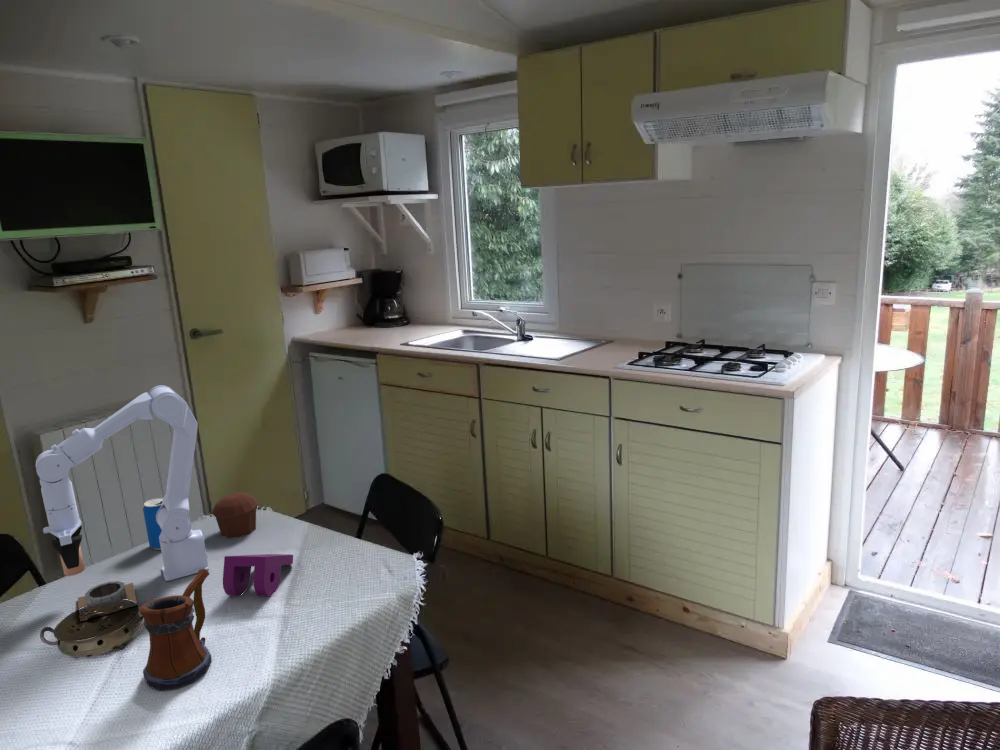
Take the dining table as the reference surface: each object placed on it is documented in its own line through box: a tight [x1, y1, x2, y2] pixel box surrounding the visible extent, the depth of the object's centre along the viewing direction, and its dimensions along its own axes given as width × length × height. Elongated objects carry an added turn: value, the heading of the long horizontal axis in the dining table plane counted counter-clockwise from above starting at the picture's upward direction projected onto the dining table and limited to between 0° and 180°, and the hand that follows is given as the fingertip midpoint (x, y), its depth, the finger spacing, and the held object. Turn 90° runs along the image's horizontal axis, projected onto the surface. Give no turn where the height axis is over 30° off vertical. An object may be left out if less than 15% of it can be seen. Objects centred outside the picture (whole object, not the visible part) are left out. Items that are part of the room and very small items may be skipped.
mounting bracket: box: [222, 553, 294, 597], centre depth 162 cm, size 9×8×18 cm
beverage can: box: [142, 496, 164, 551], centre depth 183 cm, size 6×6×12 cm
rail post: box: [59, 546, 86, 577], centre depth 157 cm, size 4×4×7 cm
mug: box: [138, 569, 213, 692], centre depth 133 cm, size 18×12×15 cm, turn 171°
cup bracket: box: [77, 580, 138, 609], centre depth 157 cm, size 11×11×3 cm
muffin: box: [211, 491, 259, 539], centre depth 190 cm, size 12×11×10 cm
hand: (73, 563), depth 157 cm, fingers closed on rail post, 4 cm apart
